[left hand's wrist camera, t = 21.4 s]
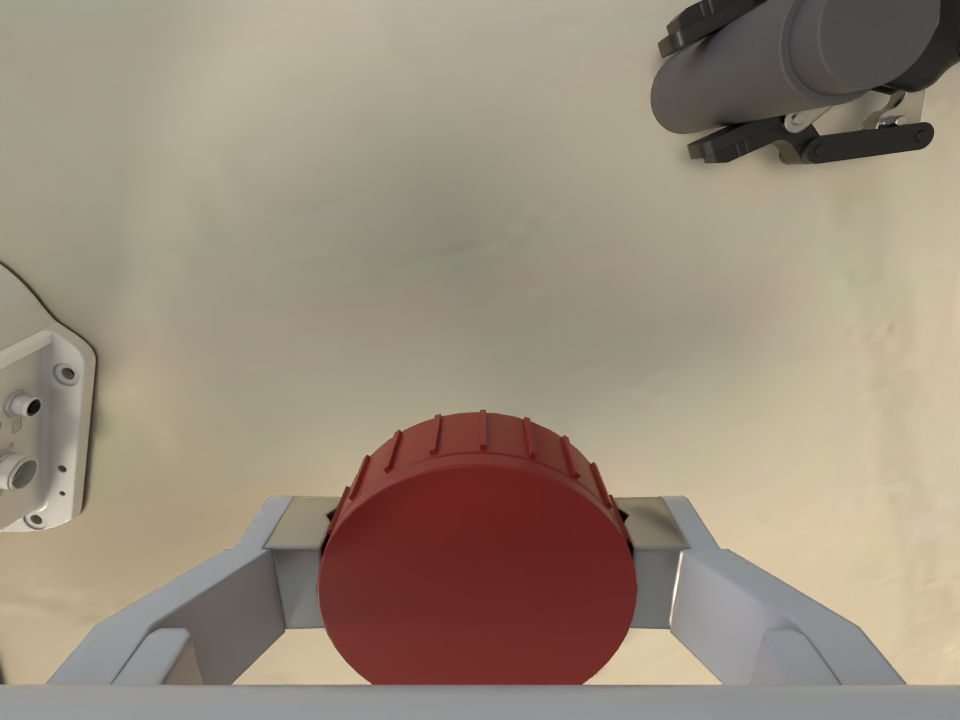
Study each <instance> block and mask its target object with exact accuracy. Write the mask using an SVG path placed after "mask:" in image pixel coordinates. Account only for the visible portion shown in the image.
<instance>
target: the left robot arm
mask: <svg viewBox="0 0 960 720" xmlns="http://www.w3.org/2000/svg"><path fill="white" fill-rule="evenodd" d="M95 365H96V357H95V354H94V351H93V350H92V348H91V347H90V346H89V345H88V344H87V343H86V342H85V341H84V340H83V339H81V338H80V337H79V336H77V335H76V334H75V333H73V332H72V331H70V330H69V329H67V328H66V327H64V326H63V325H61V324H59V323H58V322H56V321H55V320H54V319H53V318H52V317H51V316H50V314H49V313H48V312H47V311H46V310H45V309H44V307H43V306H42V305H41V304H40V302H39V301H38V300H37V299H36V297H35V296H34V295H33V294H32V293H31V291H30V290H29V289H28V288H27V287H26V286H25V285H24V284H23V283H22V282H21V281H20V280H19V279H18V278H17V277H16V276H15V275H13V274H12V273H11V272H10V271H9V270H7V269H6V268H5V267H3V266H2V265H1V264H0V532H33V531H41V530H46V529H50V528H54V527H57V526H60V525H62V524H65V523H67V522H69V521H70V520H72V519H73V518H75V517H76V516H78V515H79V514H80V512H81V508H82V501H83V491H84V481H85V470H86V459H87V449H88V438H89V428H90V417H91V407H92V396H93V386H94V375H95ZM70 369H71V370H72V371H73V372H74V374H75V375H73V374H72V373H71V372H70ZM613 499H614V501H615V503H616V506H617V508H618V511H619V513H620V516H621V518H622V520H623V523H624V525H625V528H626V530H627V533H628V535H629V537H630V541H631V543H628V544H627V545H628V547H629V550H630V552H631V556H632V559H633V563H634V566H635V570H636V579H637V601H636V606H635V611H634V616H633V620H632V622H631V625H630V627H629V628H647V629H670V632H671V633H672V634H673V635H674V636H675V637H676V638H677V639H678V640H679V641H680V642H681V643H682V644H683V645H684V646H685V647H686V648H687V649H688V650H689V651H690V652H691V653H692V654H693V655H694V656H695V657H696V658H697V659H698V660H699V661H700V662H701V663H702V664H703V665H704V666H705V667H706V668H707V669H708V670H709V671H710V672H711V673H712V674H713V675H714V676H715V677H716V678H717V679H718V680H719V681H720V682H721V683H722V684H723V685H231V684H232V683H233V682H234V681H235V680H236V679H237V678H238V677H239V676H240V675H241V674H242V673H243V672H244V671H245V670H246V669H247V668H249V667H250V666H251V665H252V664H253V663H254V662H255V661H256V660H257V659H258V658H259V657H260V656H261V655H262V654H263V653H264V652H265V651H266V650H267V649H268V648H269V647H270V646H271V645H272V644H273V643H274V642H275V641H276V640H277V639H278V638H279V637H280V636H281V635H282V634H283V633H284V632H285V629H307V628H325V627H324V624H323V622H322V619H321V615H320V610H319V606H318V597H317V580H318V571H319V566H320V563H321V559H322V556H323V552H324V550H325V547H326V545H327V543H328V540H329V538H330V535H329V534H327V530H328V528H329V525H330V523H331V521H332V518H333V516H334V514H335V511H336V509H337V507H338V504H339V502H340V500H341V497H316V496H296V497H295V496H272V497H269V498H267V500H266V501H265V502H264V504H263V505H262V507H261V508H260V510H259V511H258V513H257V515H256V516H255V518H254V519H253V521H252V522H251V524H250V525H249V527H248V528H247V530H246V531H245V533H244V534H243V536H242V537H241V539H240V540H239V542H238V543H237V545H236V546H235V548H234V549H225V550H224V551H222V552H220V553H219V554H217V555H215V556H213V557H212V558H210V559H208V560H207V561H205V562H203V563H201V564H200V565H198V566H196V567H195V568H193V569H191V570H190V571H188V572H186V573H184V574H183V575H181V576H179V577H178V578H176V579H174V580H172V581H171V582H169V583H167V584H166V585H164V586H162V587H160V588H159V589H157V590H155V591H154V592H152V593H150V594H149V595H147V596H145V597H143V598H142V599H140V600H138V601H137V602H135V603H133V604H131V605H130V606H128V607H126V608H125V609H123V610H121V611H119V612H118V613H116V614H114V615H113V616H111V617H109V618H108V619H106V620H104V621H102V622H101V623H99V624H97V625H96V626H94V627H93V629H92V630H91V631H90V632H89V633H88V635H87V636H86V637H85V638H84V639H83V640H82V642H81V643H80V644H79V645H78V646H77V647H76V649H75V650H74V651H73V652H72V653H71V654H70V656H69V657H68V658H67V659H66V660H65V661H64V663H63V664H62V665H61V666H60V667H59V669H58V670H57V671H56V672H55V673H54V674H53V676H52V677H51V678H50V679H49V680H48V681H47V683H46V684H45V685H0V720H960V685H907V683H906V682H905V681H904V680H903V679H902V677H901V676H900V675H899V674H898V673H897V671H896V670H895V669H894V668H893V667H892V665H891V664H890V663H889V662H888V661H887V659H886V658H885V657H884V656H883V655H882V653H881V652H880V651H879V650H878V649H877V647H876V646H875V645H874V644H873V643H872V641H871V640H870V639H869V638H868V637H867V635H866V634H865V633H864V632H863V631H862V629H861V628H860V627H859V626H857V625H855V624H854V623H852V622H850V621H849V620H847V619H845V618H844V617H842V616H840V615H839V614H837V613H835V612H834V611H832V610H830V609H829V608H827V607H825V606H823V605H822V604H820V603H818V602H817V601H815V600H813V599H812V598H810V597H808V596H807V595H805V594H803V593H802V592H800V591H798V590H796V589H795V588H793V587H791V586H790V585H788V584H786V583H785V582H783V581H781V580H780V579H778V578H776V577H775V576H773V575H771V574H770V573H768V572H766V571H764V570H763V569H761V568H759V567H758V566H756V565H754V564H753V563H751V562H749V561H748V560H746V559H744V558H743V557H741V556H739V555H738V554H736V553H734V552H732V551H731V550H729V549H720V547H719V546H718V544H717V543H716V541H715V539H714V538H713V536H712V535H711V533H710V532H709V530H708V529H707V527H706V526H705V524H704V523H703V521H702V520H701V518H700V516H699V515H698V513H697V512H696V510H695V509H694V507H693V506H692V504H691V503H690V501H689V500H688V498H686V497H685V496H659V497H625V498H613Z"/></svg>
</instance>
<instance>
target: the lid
mask: <svg viewBox="0 0 960 720" xmlns="http://www.w3.org/2000/svg"><path fill="white" fill-rule="evenodd" d="M327 534H329V535H330V538H329V540H328V543H327V545H326V547H325V550H324V552H323V556H322V559H321V563H320V566H319V571H318V580H317V597H318V606H319V610H320V615H321V619H322V622H323V624H324V627H325V629H326V632H327V634H328V636H329V638H330V639H331V641H332V643H333V645H334V646H335V648H336V649H337V651H338V652H339V653H340V654H341V656H342V657H343V658H344V660H345V661H346V662H347V663H348V664H349V665H350V666H351V667H352V668H353V669H354V670H355V671H356V672H357V673H358V674H359V675H361V676H362V677H363V678H365V679H366V680H367V681H369V682H370V683H371V684H373V685H582V684H583V683H585V682H586V681H587V680H588V679H590V678H591V677H592V676H594V675H595V674H596V673H597V672H598V671H599V670H600V669H601V668H602V667H603V666H604V665H605V664H606V663H607V662H608V661H609V660H610V659H611V658H612V656H613V655H614V654H615V652H616V651H617V650H618V649H619V647H620V645H621V643H622V642H623V640H624V638H625V636H626V635H627V632H628V630H629V627H630V625H631V622H632V620H633V616H634V611H635V606H636V601H637V579H636V570H635V566H634V563H633V559H632V556H631V552H630V550H629V547H628V545H627V544H628V543H631V541H630V537H629V535H628V533H627V530H626V528H625V525H624V523H623V520H622V518H621V516H620V513H619V511H618V508H617V506H616V503H615V501H614V499H613V496H612V495H608V492H607V490H606V487H605V485H604V482H603V480H602V477H601V475H600V472H599V470H598V467H597V465H596V464H595V463H594V462H593V463H591V464H590V462H589V461H588V460H587V459H586V458H585V457H584V456H583V455H582V454H581V452H580V451H579V450H578V449H576V448H575V447H574V446H573V445H571V444H570V441H569V438H568V437H566V436H565V435H564V436H563V437H560V436H559V435H557V434H556V433H554V432H552V431H551V430H549V429H547V428H544V427H542V426H540V425H538V424H535V423H533V422H531V421H530V418H527V417H524V419H521V418H517V417H513V416H508V415H502V414H497V413H486V410H480V412H474V413H458V414H452V415H447V416H441V414H438V415H435V418H434V419H431V420H428V421H424V422H421V423H419V424H417V425H415V426H413V427H410V428H408V429H406V430H404V431H402V432H401V431H400V430H398V431H396V432H395V434H394V437H393V438H391V439H389V440H388V441H387V442H386V443H385V444H383V445H382V446H381V447H380V448H378V449H377V450H376V451H375V452H374V453H373V454H372V455H371V457H370V456H368V455H366V456H365V458H364V459H363V462H362V464H361V467H360V469H359V472H358V474H357V475H356V477H355V479H354V481H353V483H352V485H351V487H347V486H346V488H345V490H344V493H343V495H342V497H341V500H340V502H339V504H338V507H337V509H336V511H335V514H334V516H333V518H332V521H331V523H330V525H329V528H328V530H327Z"/></svg>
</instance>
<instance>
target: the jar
mask: <svg viewBox="0 0 960 720" xmlns="http://www.w3.org/2000/svg"><path fill="white" fill-rule="evenodd" d="M940 4H941V0H768V1H766V2H765V3H763V4H761V5H760V6H758V7H756V8H755V9H753V10H751V11H750V12H748V13H746V14H745V15H743V16H741V17H740V18H738V19H736V20H735V21H733V22H731V23H730V24H728V25H726V26H725V27H723V28H721V29H720V30H718V31H716V32H714V33H713V34H711V35H709V36H708V37H706V38H704V39H703V40H701V41H699V42H698V43H696V44H694V45H693V46H691V47H689V48H687V49H686V50H684V51H682V52H681V53H679V54H677V55H676V56H674V57H673V58H671V59H670V60H668V61H667V62H666V63H665V64H664V65H663V66H662V68H661V69H660V70H659V72H658V74H657V75H656V77H655V80H654V82H653V85H652V90H651V106H652V110H653V113H654V115H655V117H656V119H657V120H658V122H659V123H660V124H661V125H662V126H663V127H664V128H666V129H667V130H669V131H671V132H674V133H680V134H686V133H692V132H697V131H703V130H708V129H713V128H718V127H724V126H729V125H734V124H739V123H744V122H750V121H755V120H760V119H765V118H771V117H776V116H781V115H786V114H792V113H797V112H802V111H807V110H813V109H818V108H823V107H828V106H833V105H838V104H843V103H847V102H849V101H852V100H854V99H856V98H858V97H860V96H862V95H864V94H865V93H867V92H868V91H870V90H871V89H872V88H873V87H878V86H880V85H883V84H886V83H888V82H890V81H892V80H894V79H895V78H897V77H898V76H900V75H901V74H902V73H904V72H905V71H906V70H907V69H909V68H910V67H911V66H912V65H913V64H914V63H915V62H916V60H917V59H918V58H919V57H920V56H921V54H922V53H923V51H924V50H925V49H926V47H927V45H928V44H929V42H930V40H931V38H932V36H933V33H934V31H935V28H936V25H937V22H938V18H939V13H940Z"/></svg>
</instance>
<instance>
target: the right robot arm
mask: <svg viewBox="0 0 960 720" xmlns="http://www.w3.org/2000/svg"><path fill="white" fill-rule="evenodd" d="M766 1H768V0H702V1H700V2H698V3H696V4H694V5H692V6H690V7H688V8H686V9H685V10H684V11H682V12H681V13H680V14H679V15H677V16H676V17H675V18H674V19H673V20H672V21H671V22H670V23H669V24H668V26H667V30H668V34H669V36H667V37H666V38H664V39H663V40H662V41H660V42H659V43H658V46H659V50H660V53H661V57H662V58H664V57H666V56H668V55H670V54H672V53H674V52H676V51H678V50H680V49H683V48H685V47H687V46H689V45H691V44H693V43H695V42H697V41H699V40H701V39H703V38H705V37H707V36H709V35H711V34H713V33H714V32H716V31H718V30H720V29H721V28H723V27H725V26H726V25H728V24H730V23H731V22H733V21H735V20H736V19H738V18H740V17H741V16H743V15H745V14H746V13H748V12H750V11H751V10H753V9H755V8H756V7H758V6H760V5H761V4H763V3H765V2H766ZM958 62H960V0H941V4H940V13H939V18H938V22H937V25H936V28H935V31H934V33H933V36H932V38H931V40H930V42H929V44H928V45H927V47H926V49H925V50H924V51H923V53H922V54H921V56H920V57H919V58H918V59H917V60H916V62H915V63H914V64H913V65H912V66H911V67H910V68H909V69H907V70H906V71H905V72H904V73H902V74H901V75H900V76H898V77H897V78H895V79H894V80H892V81H890V82H888V83H886V84H883V85H880V86H878V87H873V88H872V89H871V90H872V91H876V92H880V93H884V94H888V95H891V98H890V100H889V102H888V104H887V105H886V106H885V107H884V108H883V109H881V110H879V111H875V112H873V113H872V114H870V115H869V116H868V117H867V119H866V120H865V121H864V122H863V123H862V126H861V127H862V129H863V130H858V131H851V132H844V133H837V134H830V135H823V136H820V135H819V134H818V132H817V131H816V129H815V128H814V127H813V125H812V124H811V123H813V122H814V121H815V120H816V119H818V118H819V117H820V116H821V115H823V114H824V113H825V112H826V111H827V110H829V109H830V108H831V107H832V106H828V107H823V108H818V109H813V110H807V111H802V112H797V113H792V114H786V115H781V116H776V117H771V118H765V119H760V120H755V121H750V122H744V123H739V124H734V125H730V126H728V127H725V128H723V129H721V130H719V131H717V132H715V133H712V134H710V135H708V136H706V137H704V138H701V139H699V140H697V141H695V142H693V143H691V144H689V145H687V147H688V150H689V154H690V157H691V159H698V158H703V159H704V162H705V163H724V162H730V161H732V160H734V159H736V158H738V157H741V156H743V155H745V154H747V153H750V152H752V151H754V150H756V149H759V148H761V147H763V146H765V145H767V144H770V143H773V144H774V145H775V146H776V147H777V148H778V150H779V158H780V160H781V162H782V163H784V164H819V163H826V162H833V161H840V160H847V159H855V158H862V157H869V156H876V155H884V154H891V153H898V152H905V151H912V150H919V149H923V148H925V147H926V146H927V145H928V144H929V143H930V142H931V141H932V139H933V136H934V129H933V126H932V125H931V124H929V123H927V122H922V123H920V118H921V112H922V105H923V98H924V91H925V89H926V88H928V87H930V86H931V85H932V84H934V83H935V82H936V81H937V80H938V79H939V78H940V77H941V76H942V75H943V74H944V73H945V72H946V71H947V70H948V69H949V68H950V67H951V66H953V65H954V64H956V63H958ZM833 106H834V105H833Z"/></svg>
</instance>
